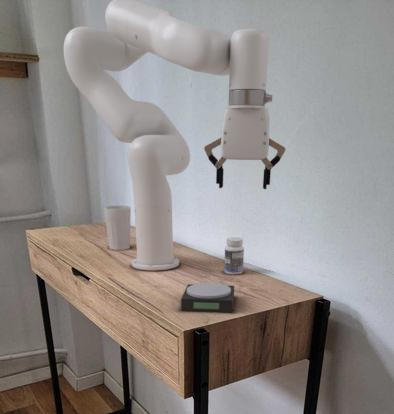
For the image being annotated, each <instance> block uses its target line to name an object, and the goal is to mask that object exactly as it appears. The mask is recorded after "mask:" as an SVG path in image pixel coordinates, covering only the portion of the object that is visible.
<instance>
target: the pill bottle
mask: <svg viewBox="0 0 394 414" xmlns="http://www.w3.org/2000/svg"><path fill="white" fill-rule="evenodd" d="M225 243H226V246H225V247H224V267H223V269H224V273H225V274H227V275H241V274H242V273H243V272H244V257H245V255H244V254H245V248H244V246H243V245H244V239H243V238H242V237H235V236H233V237H227V238H226V242H225Z"/></svg>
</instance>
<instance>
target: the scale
mask: <svg viewBox="0 0 394 414" xmlns="http://www.w3.org/2000/svg"><path fill="white" fill-rule="evenodd" d="M234 300H235V285H227V284H226V285H225V284H223V283H216V282H200V283H194V284H192V283H191V284H190V283H189V284H187V285H186V288H185V290H184V291H183V294H182V295H181V298H180V309H181V311H182V312H206V313H207V312H208V313H211V312H212V313H233V309H234V308H233V307H234Z"/></svg>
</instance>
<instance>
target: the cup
mask: <svg viewBox="0 0 394 414" xmlns="http://www.w3.org/2000/svg"><path fill="white" fill-rule="evenodd" d="M131 212H132V207H131V206H130V205H122V204H121V205H120V204H119V205H107V206H104V207H103V213H104V219H105V225H106V226H105V227H106V232H107V233H106V234H107V238H108V246H109V247H108V248H109V250H114V251H124V250H129V249H131Z"/></svg>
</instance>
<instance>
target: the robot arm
mask: <svg viewBox="0 0 394 414" xmlns="http://www.w3.org/2000/svg"><path fill="white" fill-rule="evenodd" d="M109 2H110V3H108V5H107V7H106V9H105V13H104V20H105V24H106V27H107V29H103V28H99V27H93V26H86V25H84V26H83V25H82V26H76V27H74V28H72V29H70V30H69V31H68V33H67V34H65V35H66V36H65V38H64V42H63V59H64V64H65V68H66V71H67V74H68V76H69V78H70V79H71V81H72V83H73V84H74V86H75V87H76V89H77V90H78V91H79V93H81V95H82V96H83V97H84V98H85V99H86V100H87V102H88V103H89V104H90V106H91V107H92V108H93V109H94V111H95V113H96V114H97V115H98V116H99V118H100V119H101V121H102V122H103V123H104V125H105V126H106V128H107V129H108V130H109V132H110V133H111V134H112V136H113V137H114V138H115V139H116V140H117V141H119V142H121V143H126V144H130V145H129V147H128V149H127V155H126V156H127V158H126V159H127V165H128V169H129V173H130V177H131V178H130V179H131V183H132V192H133V193H132V194H133V206H134V207H133V209H134V225H135V226H134V227H135V245H136V257H135V258H133V259H132V260H131V267H133V268H134V269H136V270H141V271H167V270H172V269H174V268H177V267H179V265H180V260H179V258H178V257H174V231H173V230H174V229H173V197H172V190H171V186H170V184H169V181H168V179H167V176H175V175H179V174H181V173H183V172H185V171H186V170H187V168H188V167H189V165H190V161H191V151H190V147H189V145H188V143H187V141H186V139H185V138H184V136H183V135H182V134H181V133H180V131H179V130H178V129H177V128H176V127H177V126H175V124H173V122H172V120H171V118H169V117H168V115H167V114H166V113H165V111H164V110H163V109H162V108H161V107H159V106H158V105H156V104H155V103H152V102H149V101H141V100H135V99H133V98H131V96H129V95H128V94H127V93H126V91H125V90H124V88H123V87H122V86H121V84H120V83H119V82H118V80H117V79H115V77H113V76H112V75H110V74H109V73H108V72H107V71H109V72H122V71H124V70H127V69H128V68H130V67H131V66H132V65H134V64H135V63H136V62H138V61H139V60H140V59H141V58H142V57H144V56H145V55H146V54H148V53H150V54H153V55H155V56H158V57H159V58H161V59H163V60H165V61H167V62H169V63H172V64H174V65H177V66H180V67H183V68H184V69H187V70H190V71H194V72H196V73H202V74H203V73H204V74H210V75H214V76H220V77H221V76H228V77H229V79H228V105H227V106H228V107H225V108H224V112H223V117H222V125H221V136H220V138H218V139H216V140H214V141H212V142H210V143H208V144H206V145H205V146H204V148H203V149H204V152H205V154H206V156H207V158H208V160H209V162H210V163H211V164H212V165H213V166H214V167H215V169H216V174H215V175H216V177H215V178H216V179H215V184H216V185H218V189H222V188H224V171H225V170H224V168H223V167H224V166H223V165H224V164H225V163H226V162H227V160H231V161H234V160H235V161H237V160H238V161H243V160H244V161H260V160H261V162H262V163H263V165H264V169H263V178H262V179H263V180H262V189H263V190H267V186H270V185H271V174H272V172H271V171H272V169H273V168H274V167H275V166H276V165H277V164H278V163H279V162H280V161H281V159H282V158H283V155H284V154H285V152H286V147H285V146H283V145H281V144H280V143H278V142H277V141H275V140H273V139H272V138H270V115H269V114H270V113H269V108H266V107H265V106H266V105H267V104H268V103H273V94H269V93H268V92H267V91H266V90H267V76H268V63H269V62H268V61H269V46H270V45H269V44H270V42H269V40H270V38H269V34H268V32H267V31H266V30H263V29H261V28H251V27H249V28H239V29H237V30H235V31H234V32H232V34H228V33H224V32H221V31H217V30H214V29H210V28H207V27H203V26H200V25H197V24H194V23H191V22H188V21H185V20H182V19H179V18H176V16H175V15H174V13H173V12H171V11H170V10H166V9H163V8H160V7H157V6H154V5H152V4H150V3H147V2H145V1H141V0H111V1H109ZM219 146H220V155H221V157H220V158H219V159H218V158H217V157H216V156H215V155H214V152H213V150H214V149H215V148H217V147H219ZM269 147H271V148H273V149H274V150H276V154H275V155H274V157H273V158H271V160H270V159H269V158H268V155H269Z"/></svg>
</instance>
